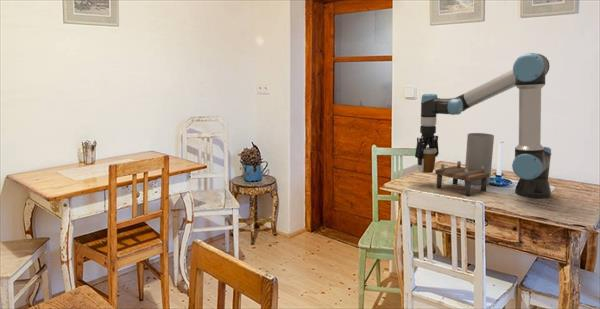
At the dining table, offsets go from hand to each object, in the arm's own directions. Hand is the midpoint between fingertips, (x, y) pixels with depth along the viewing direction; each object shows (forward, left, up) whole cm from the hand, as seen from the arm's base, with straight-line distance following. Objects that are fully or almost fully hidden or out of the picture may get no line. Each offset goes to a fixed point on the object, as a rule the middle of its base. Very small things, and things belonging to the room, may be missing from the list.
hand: (426, 170), depth 238 cm
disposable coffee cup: (0, 0, -1) cm, 1 cm away
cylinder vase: (-14, -24, -8) cm, 28 cm away
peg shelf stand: (-17, -6, -7) cm, 19 cm away
